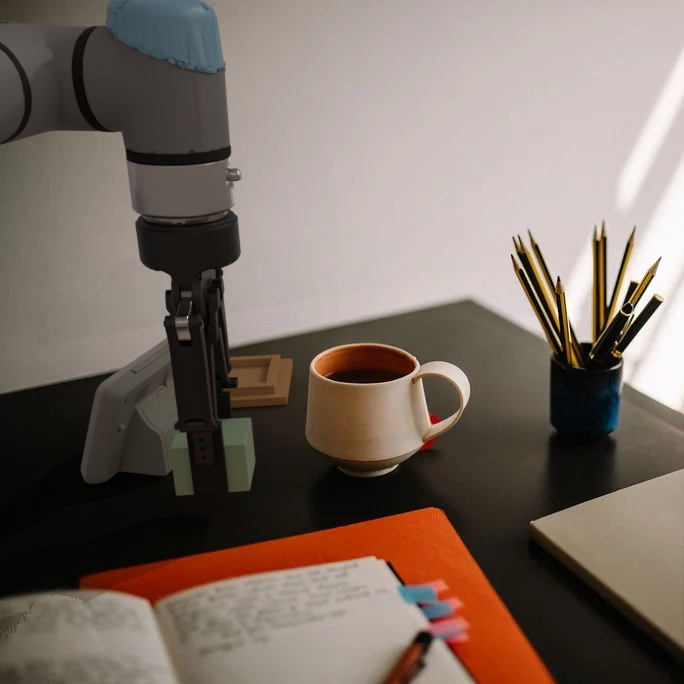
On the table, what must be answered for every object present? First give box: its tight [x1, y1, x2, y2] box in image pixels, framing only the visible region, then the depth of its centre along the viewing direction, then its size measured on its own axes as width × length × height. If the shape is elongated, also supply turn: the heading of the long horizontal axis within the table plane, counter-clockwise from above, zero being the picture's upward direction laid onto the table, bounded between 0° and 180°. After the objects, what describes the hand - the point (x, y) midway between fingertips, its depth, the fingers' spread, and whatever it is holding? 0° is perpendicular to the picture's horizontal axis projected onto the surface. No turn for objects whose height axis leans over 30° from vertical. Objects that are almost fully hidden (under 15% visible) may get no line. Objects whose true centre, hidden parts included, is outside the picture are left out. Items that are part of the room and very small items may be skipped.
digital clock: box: [80, 337, 178, 485], centre depth 88 cm, size 16×9×11 cm, turn 158°
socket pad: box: [224, 354, 294, 409], centre depth 104 cm, size 12×11×2 cm
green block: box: [170, 417, 256, 497], centre depth 78 cm, size 6×5×4 cm
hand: (216, 475), depth 78 cm, fingers closed on green block, 5 cm apart
